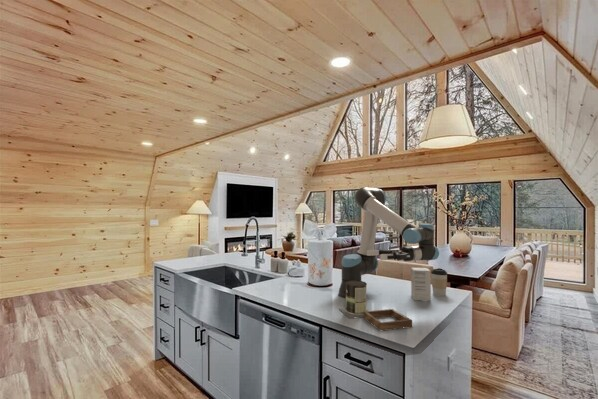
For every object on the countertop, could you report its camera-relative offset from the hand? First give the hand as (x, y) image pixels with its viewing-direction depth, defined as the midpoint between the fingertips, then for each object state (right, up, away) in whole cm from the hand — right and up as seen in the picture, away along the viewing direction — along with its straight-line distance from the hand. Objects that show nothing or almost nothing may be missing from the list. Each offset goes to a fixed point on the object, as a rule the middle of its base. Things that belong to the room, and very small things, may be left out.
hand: (373, 255), depth 154 cm
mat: (-10, -28, -4) cm, 30 cm away
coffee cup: (+47, -29, +29) cm, 62 cm away
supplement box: (+32, -29, +21) cm, 48 cm away
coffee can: (-10, -28, -3) cm, 29 cm away
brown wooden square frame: (+2, -28, -16) cm, 32 cm away
